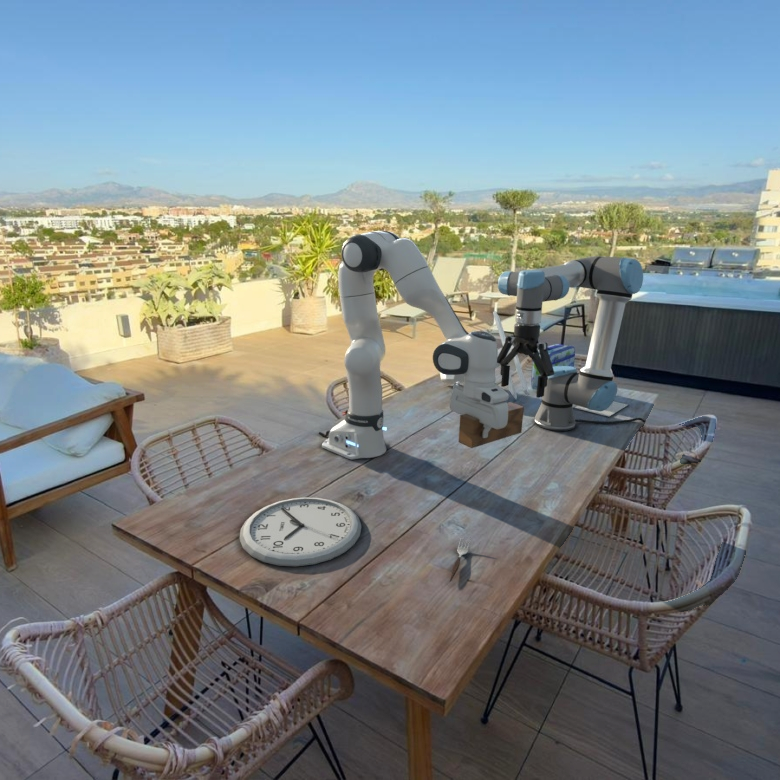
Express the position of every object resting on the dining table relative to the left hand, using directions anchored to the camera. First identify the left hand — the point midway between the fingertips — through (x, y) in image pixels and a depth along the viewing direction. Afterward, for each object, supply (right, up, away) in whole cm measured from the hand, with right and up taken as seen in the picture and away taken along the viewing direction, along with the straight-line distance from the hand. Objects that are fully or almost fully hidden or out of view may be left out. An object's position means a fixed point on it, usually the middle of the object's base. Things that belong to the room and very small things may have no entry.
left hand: (475, 433), depth 154 cm
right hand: (+16, +12, +9) cm, 22 cm away
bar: (+5, -2, +5) cm, 7 cm away
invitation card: (+66, +5, +73) cm, 98 cm away
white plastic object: (+17, +12, +89) cm, 92 cm away
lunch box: (+52, +13, +97) cm, 111 cm away
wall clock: (-47, -22, -23) cm, 57 cm away
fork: (-10, -27, -34) cm, 45 cm away
